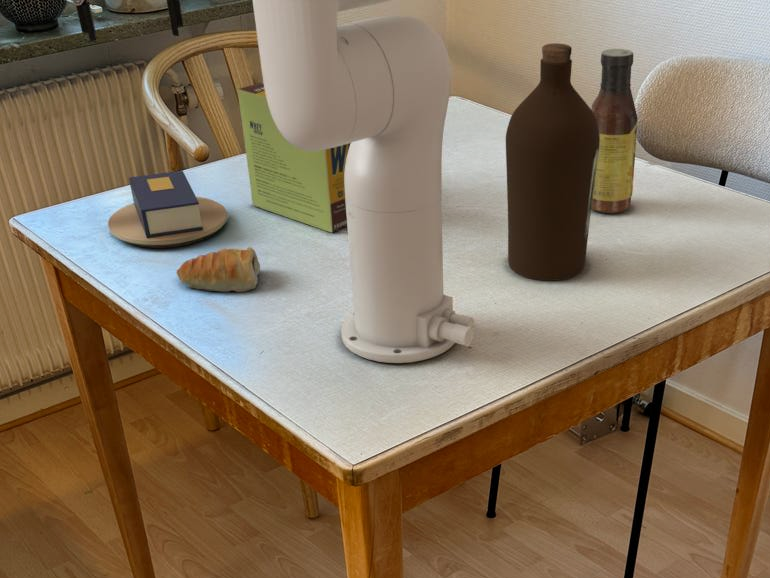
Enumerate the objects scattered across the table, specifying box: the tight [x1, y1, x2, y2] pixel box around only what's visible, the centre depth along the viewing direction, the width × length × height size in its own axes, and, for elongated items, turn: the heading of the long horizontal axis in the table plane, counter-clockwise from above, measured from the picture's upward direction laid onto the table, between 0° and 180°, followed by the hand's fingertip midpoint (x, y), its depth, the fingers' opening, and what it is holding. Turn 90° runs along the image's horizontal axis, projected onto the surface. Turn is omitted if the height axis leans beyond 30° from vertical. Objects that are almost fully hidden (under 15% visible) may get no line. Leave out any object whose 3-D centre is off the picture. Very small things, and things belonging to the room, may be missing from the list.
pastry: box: [176, 246, 261, 293], centre depth 118 cm, size 9×7×4 cm
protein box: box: [237, 81, 351, 233], centre depth 132 cm, size 10×15×16 cm
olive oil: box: [505, 42, 600, 281], centre depth 115 cm, size 11×11×25 cm
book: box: [107, 170, 228, 245], centre depth 129 cm, size 15×15×4 cm
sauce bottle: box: [590, 48, 639, 214], centre depth 132 cm, size 6×6×20 cm
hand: (134, 36), depth 121 cm, fingers open, 9 cm apart
